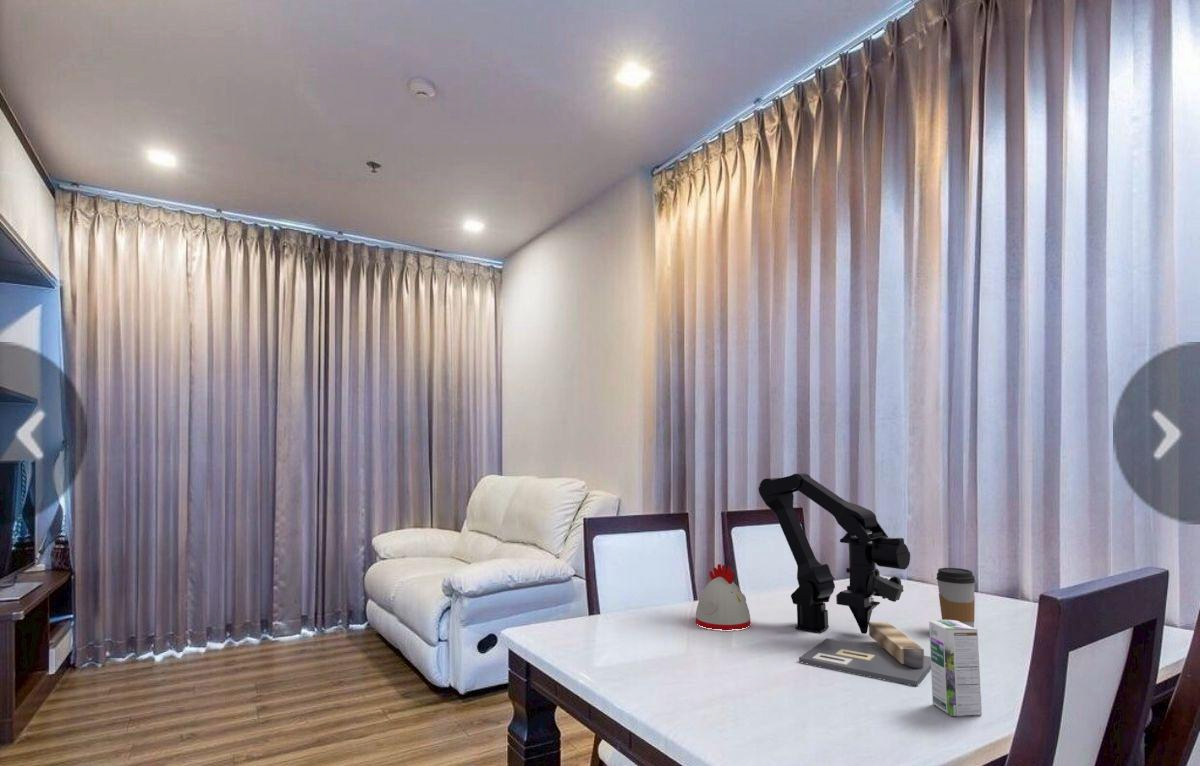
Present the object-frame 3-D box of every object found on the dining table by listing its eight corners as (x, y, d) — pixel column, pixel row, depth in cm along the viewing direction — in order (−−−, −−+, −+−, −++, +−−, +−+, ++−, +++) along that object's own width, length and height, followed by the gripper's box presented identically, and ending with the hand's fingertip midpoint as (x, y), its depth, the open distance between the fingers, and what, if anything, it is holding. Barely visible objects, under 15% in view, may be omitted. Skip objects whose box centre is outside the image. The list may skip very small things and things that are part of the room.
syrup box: (931, 704, 115) (926, 619, 116) (962, 702, 116) (957, 618, 117) (951, 717, 109) (946, 628, 111) (984, 716, 110) (978, 627, 111)
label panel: (799, 662, 137) (798, 656, 138) (826, 642, 151) (826, 637, 151) (917, 686, 123) (916, 679, 123) (936, 662, 137) (935, 656, 137)
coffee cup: (984, 640, 152) (980, 574, 153) (945, 638, 153) (941, 573, 155) (971, 630, 160) (967, 567, 161) (934, 628, 161) (931, 566, 163)
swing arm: (869, 635, 152) (868, 621, 152) (888, 635, 151) (888, 622, 152) (905, 667, 130) (904, 651, 130) (928, 668, 130) (927, 651, 130)
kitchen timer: (726, 635, 158) (724, 572, 159) (684, 623, 169) (683, 564, 170) (761, 624, 167) (759, 565, 168) (720, 614, 177) (718, 558, 179)
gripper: (886, 572, 140) (888, 647, 138) (909, 564, 154) (912, 632, 152) (834, 566, 147) (836, 638, 145) (861, 559, 162) (863, 624, 159)
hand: (864, 633), depth 150 cm, fingers closed
